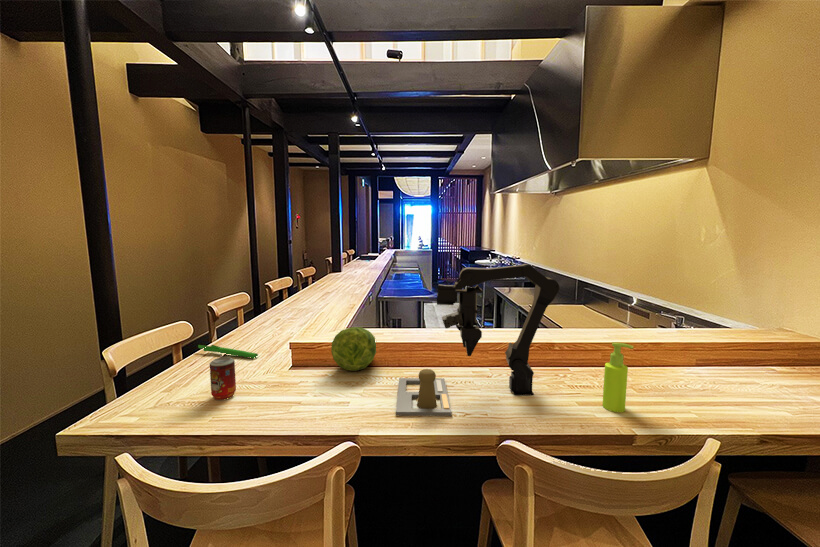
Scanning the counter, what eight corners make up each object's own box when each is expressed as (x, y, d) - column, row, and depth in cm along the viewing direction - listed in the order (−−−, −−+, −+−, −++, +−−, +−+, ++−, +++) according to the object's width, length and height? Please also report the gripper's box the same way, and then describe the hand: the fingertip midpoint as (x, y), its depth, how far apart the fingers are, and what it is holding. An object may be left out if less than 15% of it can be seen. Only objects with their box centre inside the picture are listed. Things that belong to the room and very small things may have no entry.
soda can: (206, 400, 109) (204, 363, 108) (220, 391, 116) (219, 355, 115) (227, 402, 109) (225, 364, 107) (240, 392, 116) (239, 356, 114)
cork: (416, 409, 104) (416, 374, 103) (417, 400, 110) (417, 366, 109) (437, 410, 104) (437, 374, 103) (436, 400, 110) (436, 366, 109)
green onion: (258, 359, 149) (202, 349, 158) (258, 351, 149) (202, 342, 157) (250, 363, 145) (193, 352, 153) (250, 355, 144) (193, 345, 153)
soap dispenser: (629, 415, 101) (633, 348, 99) (601, 409, 105) (605, 344, 102) (629, 406, 106) (633, 342, 104) (603, 401, 110) (606, 339, 107)
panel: (444, 381, 124) (444, 377, 124) (451, 416, 100) (451, 411, 100) (399, 381, 124) (399, 377, 124) (395, 415, 101) (395, 410, 100)
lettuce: (367, 370, 151) (392, 342, 150) (350, 383, 128) (380, 350, 127) (340, 343, 154) (365, 316, 153) (319, 351, 131) (348, 319, 130)
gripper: (441, 300, 125) (440, 342, 127) (446, 311, 106) (445, 361, 108) (472, 300, 125) (471, 342, 127) (482, 311, 106) (481, 361, 108)
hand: (466, 351), depth 117 cm, fingers open, 9 cm apart
